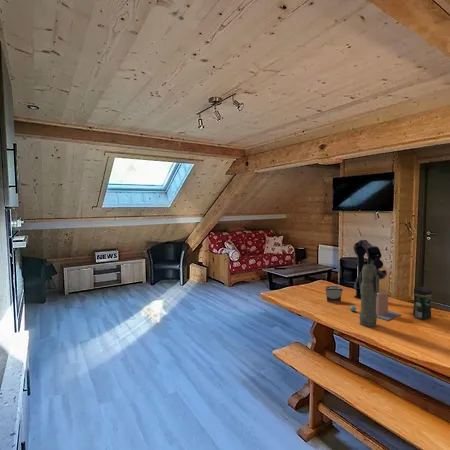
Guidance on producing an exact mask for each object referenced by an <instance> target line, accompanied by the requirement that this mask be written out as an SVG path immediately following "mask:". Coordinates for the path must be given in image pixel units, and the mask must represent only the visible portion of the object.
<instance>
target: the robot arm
mask: <svg viewBox="0 0 450 450" xmlns="http://www.w3.org/2000/svg"><path fill="white" fill-rule="evenodd" d="M353 251H354V254H355V256H356V263H357V277H356V278H355V282H354V284H353V289H354V290H355V295H354V298H356V299H360V300H361V294H360V286H359V280H360V272H361V271H362V268H363V266H364V265H365V255H366V257H367V264H372V265H375V266H376V270H377V275H378V276H379V281H380V280H383V279H385V278H386V277H387V275H388V272H387V270H385V269H383V270H381V269H382V268H383V266H384V262H383V261H382V260H381V259H382V253H381V250H380V248H379V247H378V246H376V245H372V244H371V243H370V242H369V241H368V240H366V239H360V240H358V242H356V243H355V244H354V245H353Z"/></svg>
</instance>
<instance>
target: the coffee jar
mask: <svg viewBox="0 0 450 450" xmlns="http://www.w3.org/2000/svg"><path fill="white" fill-rule="evenodd" d="M432 295H433V292H432V289H431V288H430V287H428V286H422V287H415V288H413V296H414V299H413V300H414V301H413V309H412V316H413V317H415V318H416V319H419V320H428V319H431V318H432V307H431V306H432Z"/></svg>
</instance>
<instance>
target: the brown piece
mask: <svg viewBox="0 0 450 450" xmlns="http://www.w3.org/2000/svg"><path fill="white" fill-rule="evenodd" d="M388 311H389V293H388V292H386V291H380V290H379V292H378V293H377V297H376V314H378V315H388Z"/></svg>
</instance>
